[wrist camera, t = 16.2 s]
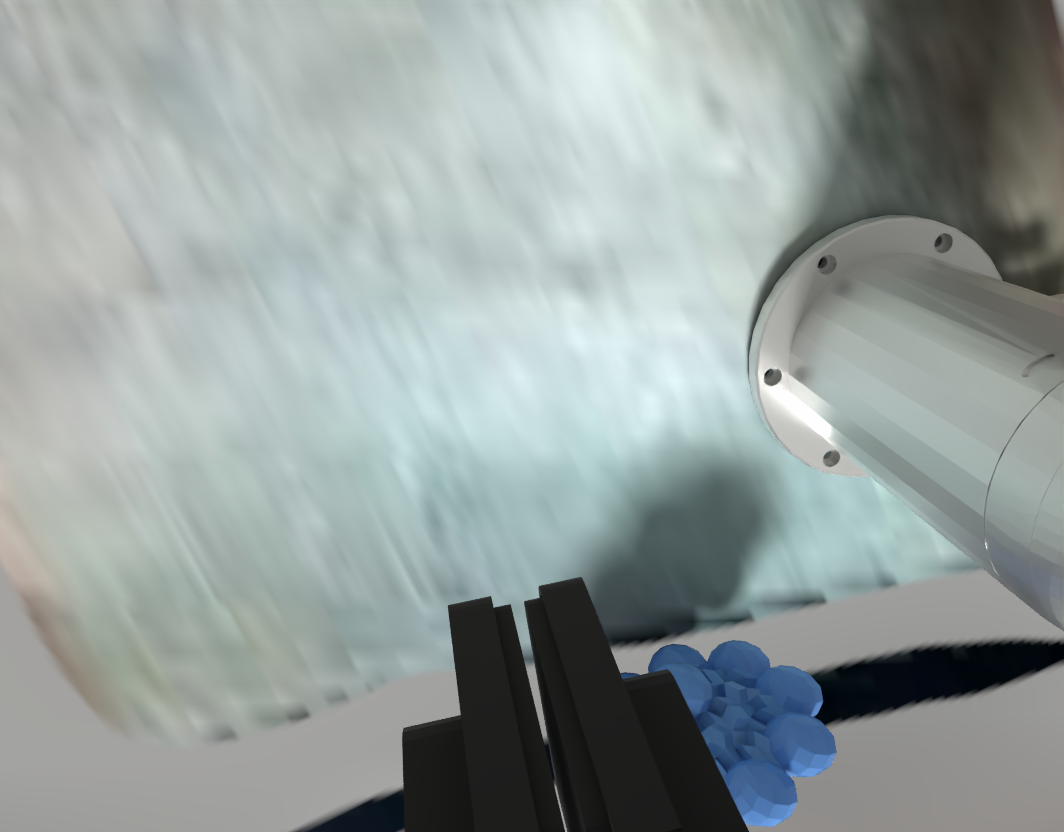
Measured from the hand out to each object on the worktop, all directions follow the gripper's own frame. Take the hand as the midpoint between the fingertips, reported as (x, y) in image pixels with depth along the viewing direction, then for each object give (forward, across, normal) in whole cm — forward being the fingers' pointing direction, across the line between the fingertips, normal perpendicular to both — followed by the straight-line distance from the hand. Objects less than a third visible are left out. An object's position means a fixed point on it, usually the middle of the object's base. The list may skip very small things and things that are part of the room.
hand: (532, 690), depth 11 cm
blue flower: (+29, -8, +22) cm, 38 cm away
